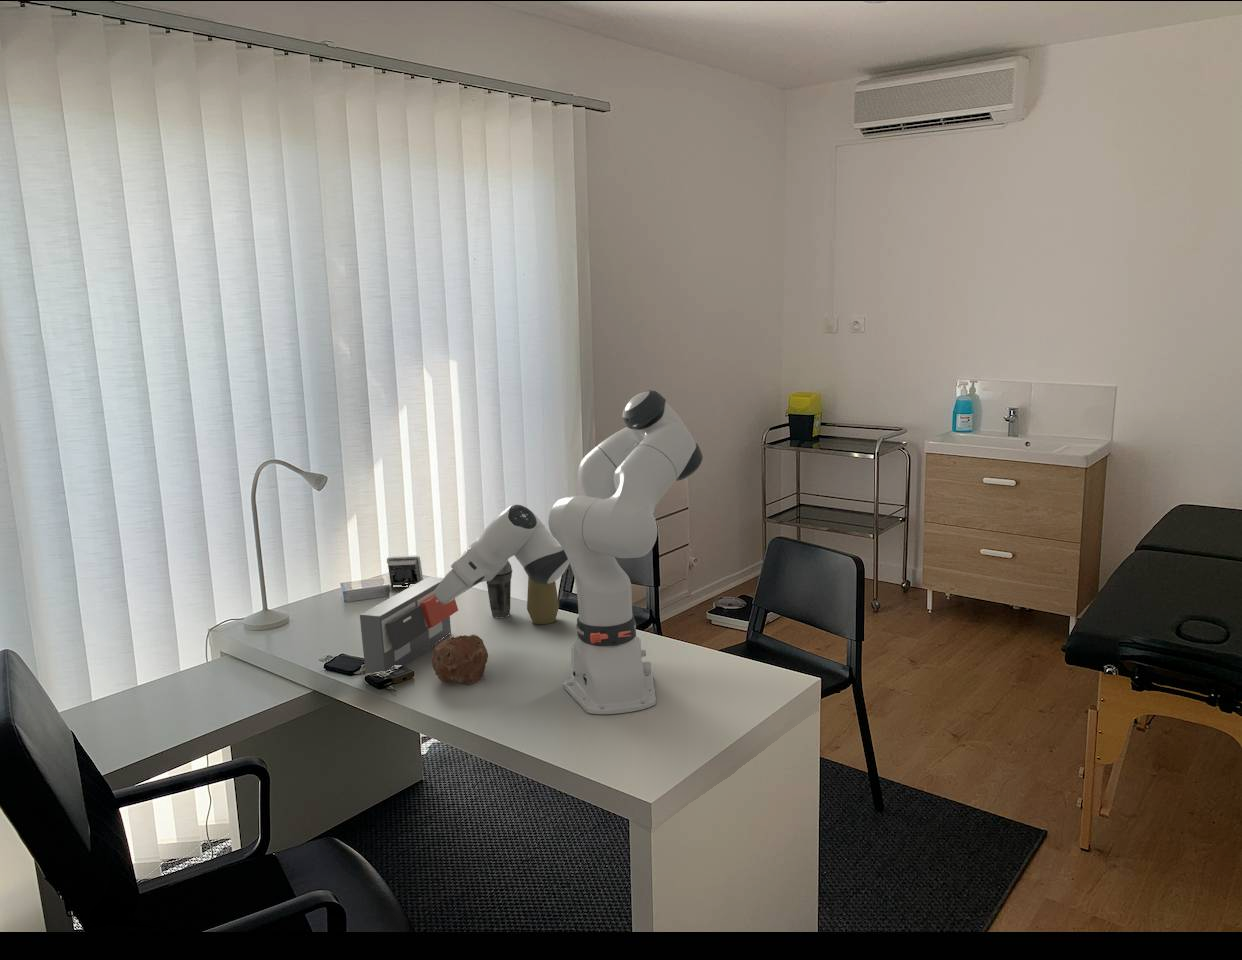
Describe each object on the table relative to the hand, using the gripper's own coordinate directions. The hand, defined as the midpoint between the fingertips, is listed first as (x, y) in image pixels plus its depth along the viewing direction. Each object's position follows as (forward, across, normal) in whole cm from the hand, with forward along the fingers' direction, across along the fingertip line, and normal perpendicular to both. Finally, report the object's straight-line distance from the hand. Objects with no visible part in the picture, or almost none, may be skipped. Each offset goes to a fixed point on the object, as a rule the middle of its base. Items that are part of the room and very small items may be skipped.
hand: (447, 600), depth 215 cm
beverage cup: (+7, -22, +9) cm, 25 cm away
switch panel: (+13, +6, +3) cm, 15 cm away
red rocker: (+5, -1, +2) cm, 5 cm away
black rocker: (+5, +13, +2) cm, 14 cm away
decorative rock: (0, +17, +17) cm, 24 cm away
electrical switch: (+34, -39, -18) cm, 54 cm away
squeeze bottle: (-2, -21, +18) cm, 28 cm away
